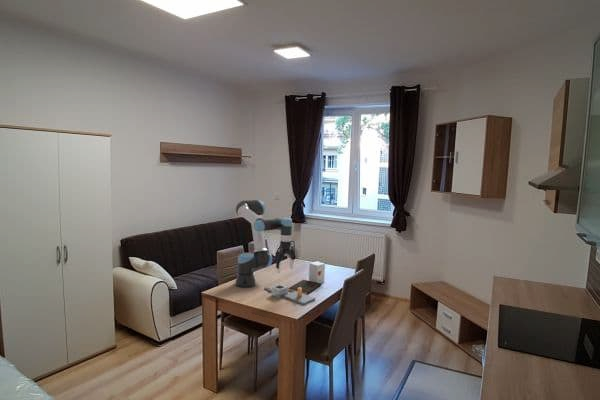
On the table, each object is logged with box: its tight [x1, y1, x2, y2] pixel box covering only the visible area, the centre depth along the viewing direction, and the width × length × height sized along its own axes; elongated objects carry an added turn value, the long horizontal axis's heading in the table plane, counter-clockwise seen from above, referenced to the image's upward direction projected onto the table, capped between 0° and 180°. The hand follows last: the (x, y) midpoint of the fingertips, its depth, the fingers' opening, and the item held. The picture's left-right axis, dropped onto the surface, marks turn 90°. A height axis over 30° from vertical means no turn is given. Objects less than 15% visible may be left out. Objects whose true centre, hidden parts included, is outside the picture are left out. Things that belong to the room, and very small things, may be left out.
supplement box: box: [308, 260, 326, 284], centre depth 268 cm, size 9×9×15 cm
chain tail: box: [263, 286, 272, 293], centre depth 246 cm, size 12×4×1 cm, turn 49°
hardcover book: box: [288, 279, 322, 296], centre depth 254 cm, size 16×23×2 cm
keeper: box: [283, 287, 316, 306], centre depth 232 cm, size 18×12×8 cm, turn 49°
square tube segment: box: [270, 284, 289, 299], centre depth 238 cm, size 8×8×6 cm
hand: (284, 270), depth 237 cm, fingers open, 13 cm apart
